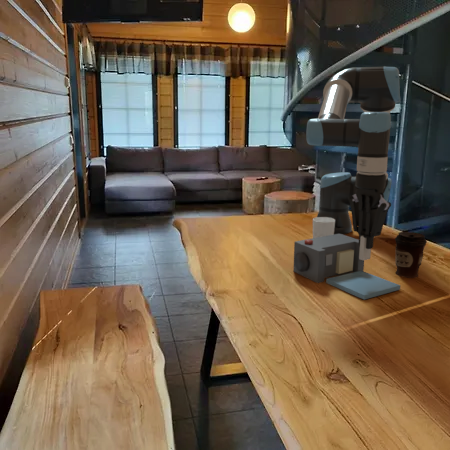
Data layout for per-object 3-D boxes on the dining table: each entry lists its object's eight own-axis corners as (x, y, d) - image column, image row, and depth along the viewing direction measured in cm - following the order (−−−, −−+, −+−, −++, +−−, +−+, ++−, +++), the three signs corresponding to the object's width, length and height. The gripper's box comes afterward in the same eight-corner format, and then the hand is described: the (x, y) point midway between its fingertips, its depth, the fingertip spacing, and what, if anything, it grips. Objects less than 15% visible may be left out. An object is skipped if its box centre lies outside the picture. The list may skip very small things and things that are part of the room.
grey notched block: (337, 263, 149) (339, 231, 146) (363, 273, 140) (365, 239, 137) (289, 273, 140) (291, 239, 137) (313, 285, 130) (315, 249, 128)
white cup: (309, 248, 165) (310, 221, 163) (313, 242, 172) (315, 216, 170) (331, 250, 162) (333, 223, 160) (335, 244, 169) (336, 218, 167)
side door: (360, 270, 137) (400, 285, 125) (360, 276, 138) (399, 292, 126) (326, 278, 131) (364, 295, 119) (325, 285, 131) (363, 302, 119)
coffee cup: (407, 283, 132) (411, 239, 129) (385, 274, 139) (389, 232, 136) (428, 278, 136) (433, 235, 133) (405, 269, 143) (409, 229, 140)
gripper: (342, 171, 124) (337, 254, 130) (380, 177, 113) (373, 268, 119) (362, 169, 128) (357, 250, 133) (401, 174, 117) (393, 263, 122)
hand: (364, 258), depth 126 cm, fingers closed
